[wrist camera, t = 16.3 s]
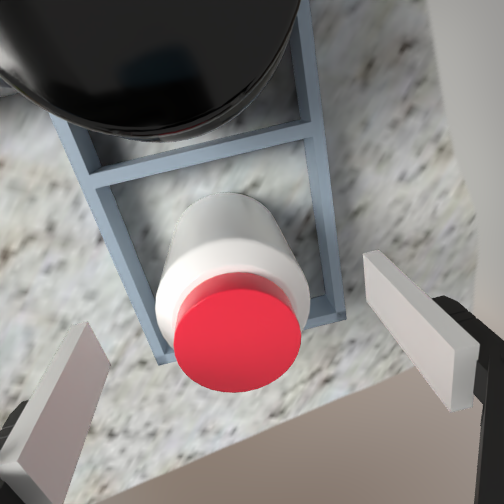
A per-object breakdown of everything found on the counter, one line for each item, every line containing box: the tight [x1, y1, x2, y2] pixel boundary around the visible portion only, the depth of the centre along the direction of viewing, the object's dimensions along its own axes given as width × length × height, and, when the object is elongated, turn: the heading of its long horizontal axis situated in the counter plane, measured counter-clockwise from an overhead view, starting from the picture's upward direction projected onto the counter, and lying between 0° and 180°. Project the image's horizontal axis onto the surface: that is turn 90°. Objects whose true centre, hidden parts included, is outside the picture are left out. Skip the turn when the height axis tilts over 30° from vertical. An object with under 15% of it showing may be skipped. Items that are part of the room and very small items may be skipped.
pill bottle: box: [155, 192, 310, 393], centre depth 20 cm, size 8×8×11 cm
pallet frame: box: [48, 0, 347, 365], centre depth 21 cm, size 27×14×2 cm, turn 12°
